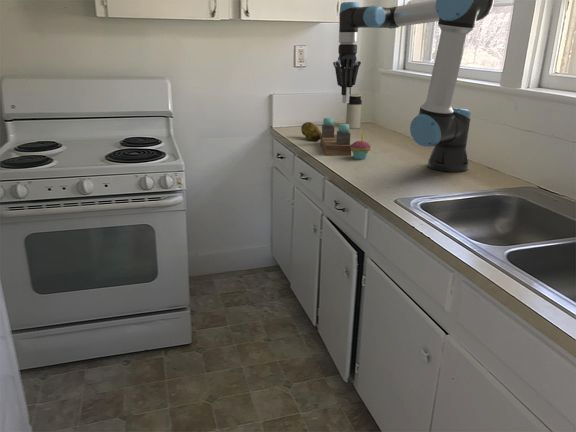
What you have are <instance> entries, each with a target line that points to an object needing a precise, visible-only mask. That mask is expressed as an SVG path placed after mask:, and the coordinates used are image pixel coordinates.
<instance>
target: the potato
mask: <svg viewBox="0 0 576 432" xmlns="http://www.w3.org/2000/svg"><path fill="white" fill-rule="evenodd" d="M300 129H301V130H300V131H301V134H302V135H303V136H304V137H305V138H306V140H308V141H312V142H318V141H320V134H322V130H320V128H319V127H318V126H317V125H316V124H315V123H313V122H310V121H306V122H304V123H303V124H301V128H300Z"/></svg>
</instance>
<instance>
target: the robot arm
mask: <svg viewBox="0 0 576 432" xmlns="http://www.w3.org/2000/svg"><path fill="white" fill-rule="evenodd" d="M494 3H495V0H425V1H420V2H415V3H408V4H405V5H399V6H398V5H397V6H391V7H382V6H379V5H371V6H360V3H359V2H357V1H346V2H345V1H344V2H342V3H340V6H339V7H340V8H339V13H338V16H339V18H338V19H339V22H338V23H339V26H338V28H339V29H338V30H339V31H338V43H339V45H338V57H337V60H336V61H333V63H332V64H333V67H334V69H335V75H336V82H337V83H336V84H337V86H339V87H340V88H341V96H342V99H341V100H342V102H341V103H342V104H347V103H349V95H350V94H352V91H351V90H352V88H353V87H354V86H355V85H356V81H357V77H358V74H359V68H360V67H361V64H362V62H361V61H359V60H358V59H357V54H358V45H357V43H358V39H359V38H358V37H359V36H358V35H359V33H358V32H359V28H361V29H362V28H364V29H365V28H369V29H370V28H372V29H373V28H374V29H378V28H379V29H382V28H383V29H391V30H392V29H398V28H400V27H404V26H405V27H407V26H412V25H421V24H429V23H434V22H435V23H436V22H438V23H437V26H438V28H439V29H440V35H439V40H438V44H437V49H436V53H435V58H434V63H433V67H432V72H431V75H430V76H431V77H430V81H429V86H428V90H427V91H428V92H427V96H426V99H425V102H424V103H422V104H420V107H419V111H418V114H417V115H416V116H415V117H413V118H412V120H411V122H410V126H409V131H410V136H411V138H412V140H413V141H414V142H415V143H416V144H418V145H419V146H421V147H433V148H432V151H431V153H430V155H429V158H428V159H427V167H429V168H430V169H433V170H436V171H441V172H450V173H451V172H453V173H454V172H455V173H459V172H465V171H467V170H469V158H468V154H467V144H468V137H469V131H470V130H469V129H470V122H471V111H470V110H469V109H467V108H461V107H452V102H453V96H454V93H455V88H456V84H457V80H458V76H459V72H460V68H461V63H462V60H463V55H464V51H465V46H466V44H467V43H466V42H467V38H468V35H469V33H470V32H472V31H473V30H474V29H475V26H476V22H479V21H481V20H483V19H485V18H486V17H487V16H488V15H489V14H490V13H491V11H492V9H493V7H494Z"/></svg>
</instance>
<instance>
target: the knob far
mask: <svg viewBox="0 0 576 432" xmlns="http://www.w3.org/2000/svg"><path fill="white" fill-rule="evenodd" d="M322 122H323V123H322V125H324V126H333V125H334V118H331V117H324V118H323V121H322Z"/></svg>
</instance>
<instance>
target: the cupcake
mask: <svg viewBox="0 0 576 432" xmlns="http://www.w3.org/2000/svg"><path fill="white" fill-rule="evenodd" d="M364 134H365V129H364V128H363V130H362V133H361V140H357V141H354V142H353V143H350V144H351V147H350V149H351V153H352V154H353V158H354V159H355V160H365V159H366V158H367V154H368V153H369V152H370V151H371V144H370V143H369V142H367V141H364V136H365V135H364Z"/></svg>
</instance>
